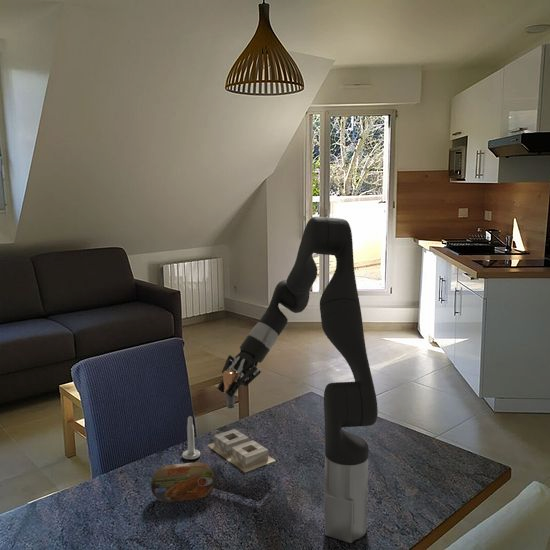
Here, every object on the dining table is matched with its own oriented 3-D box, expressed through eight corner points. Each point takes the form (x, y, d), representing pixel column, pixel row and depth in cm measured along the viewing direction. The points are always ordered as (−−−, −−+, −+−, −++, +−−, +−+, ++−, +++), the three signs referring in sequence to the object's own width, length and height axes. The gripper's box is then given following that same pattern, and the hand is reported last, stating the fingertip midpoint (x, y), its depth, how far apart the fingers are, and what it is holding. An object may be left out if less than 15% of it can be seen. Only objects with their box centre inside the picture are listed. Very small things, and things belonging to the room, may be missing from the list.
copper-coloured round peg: (232, 410, 153) (231, 375, 151) (221, 408, 155) (220, 373, 153) (239, 405, 156) (238, 371, 155) (228, 403, 158) (227, 369, 156)
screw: (198, 455, 155) (202, 463, 151) (180, 458, 153) (184, 466, 149) (196, 411, 153) (200, 417, 149) (179, 413, 151) (182, 420, 147)
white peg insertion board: (275, 464, 150) (275, 450, 149) (245, 476, 144) (244, 461, 143) (236, 439, 165) (236, 425, 164) (207, 449, 159) (206, 435, 158)
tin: (151, 503, 132) (150, 471, 131) (152, 496, 135) (150, 464, 134) (215, 497, 135) (214, 465, 133) (214, 490, 138) (214, 458, 136)
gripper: (237, 329, 162) (202, 378, 157) (266, 340, 151) (229, 393, 146) (252, 343, 166) (218, 392, 161) (282, 355, 155) (246, 407, 150)
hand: (224, 392), depth 153 cm, fingers closed on copper-coloured round peg, 3 cm apart
